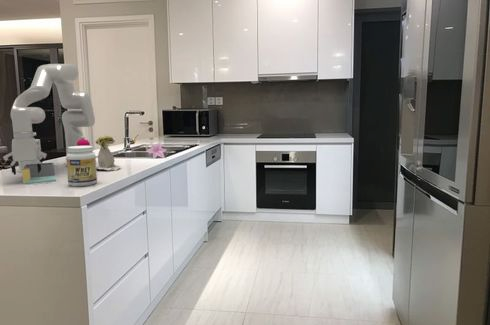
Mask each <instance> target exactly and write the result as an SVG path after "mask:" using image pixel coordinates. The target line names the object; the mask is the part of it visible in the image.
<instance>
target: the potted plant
mask: <svg viewBox="0 0 490 325" xmlns="http://www.w3.org/2000/svg"><path fill="white" fill-rule="evenodd" d="M115 142H116V140H114V138H113V137H112V136H109V135H102V136H99V137H98V138H97V139H96V140H95V142H94V143H95V144H96V145H99V146H100V148H99V151H98V154H97V162H98V163H97V164H98V166H96V170H97V169H98V170H101V171H102V170H105V171H115V172H116V171H117V170H119V169H121V165H115V162H116V161H115V157H114V155H113V153H112V152H111V150H110V148H109V147H108V146H109V145H113V144H115Z"/></svg>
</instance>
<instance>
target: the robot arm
mask: <svg viewBox="0 0 490 325" xmlns="http://www.w3.org/2000/svg"><path fill="white" fill-rule="evenodd" d="M78 77H79V69H78V67H77V66H76V65H75V64H74V63H48V64H42V65H40V66H38V67H37V69H36V71H35V74H34V77H33V80H32V82H31V85H30V87H28V89H26V90H24V91H23V92H22V93H21V94H19V95H18V96H17V97H16V98H15V100H14V102H13V104H12V107H11V110H10V118H11V121H12V122H11V123H12V124H11V125H12V131H13V139H11V140H12V141H11V152H9V153H6V154H5V155H3V157H2V159H3V160H4V161H5V163H7V164H8V165H9V166H11V173H12V174H13V175H14V176H16V175H17V172H16V165H15V164H16V163H18V161H32V160H35V161H36V162H37V163H38V164H37V167H38V173H40V171H41V163H44V161H45V159H46V157H47V155H48V154H47V152H43V151H42V150H41V151H38V150H37V144H36V140H35V136H36V137H37V132H34V131H33V125H32V124H41V123H42V122H44V120H45V119H46V113H45V110H44V109H43V108H41V107H39V106H38V107H37V106H29V105H31V104H33V103H35V102H38V101H41V100H43V99H46V98H48V97H49V95H50V92H51V89H52V86H53V85H55V86H56V89H57V93H58V94H57V95H58V96H59V101H60V104H61V106H62V108H64V109H66V110H65V111H64V112H63V113H62V115H61V121H62V125H63V129H64V138H65V139H64V140H65V148H66V150H65V151H66V155H67V154H68V153H69V152H68V147H72V146H77V142H78V141H79V140H81V137H82V136H84V133H83V131H82V130H81V128H90V127H93V126H94V125H95V123H96V118H95V112H94V108H93V103H92V99H91V96H90V95H89V93H88V92H85V91H76V89H75V87H74V84H73V81H75V80H77V79H78ZM38 154H40V155H42V158H41V159H40V160H39V159H38ZM10 157H12V161H11V160H10V159H9V158H10ZM64 166H65V167H67V162H65V163H64Z"/></svg>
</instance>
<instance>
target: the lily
mask: <svg viewBox="0 0 490 325" xmlns="http://www.w3.org/2000/svg"><path fill="white" fill-rule="evenodd" d="M162 146H163V145H162V142H161V141H158V142H157V144H154V143H150V148H149V149H146V153H150V154H152V159H156V157H160V158H162V159H165V154H164V152H166V151H167V149H166V148H164V147H163V148H162Z"/></svg>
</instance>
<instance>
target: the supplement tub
mask: <svg viewBox="0 0 490 325" xmlns="http://www.w3.org/2000/svg"><path fill="white" fill-rule="evenodd" d="M68 152H69V153H68V154H67V153H66V157H65V159H66V163H67V166H66V172H67V183H68V186H72V187H86V186H88V185H89V186H92V185H94V184H96V183H97V182H98V177H97V176H98V175H97V169H96V167H97V159H96V154H95V152H94V147H93V145H90V146H72V147H68ZM89 186H88V187H89Z"/></svg>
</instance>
